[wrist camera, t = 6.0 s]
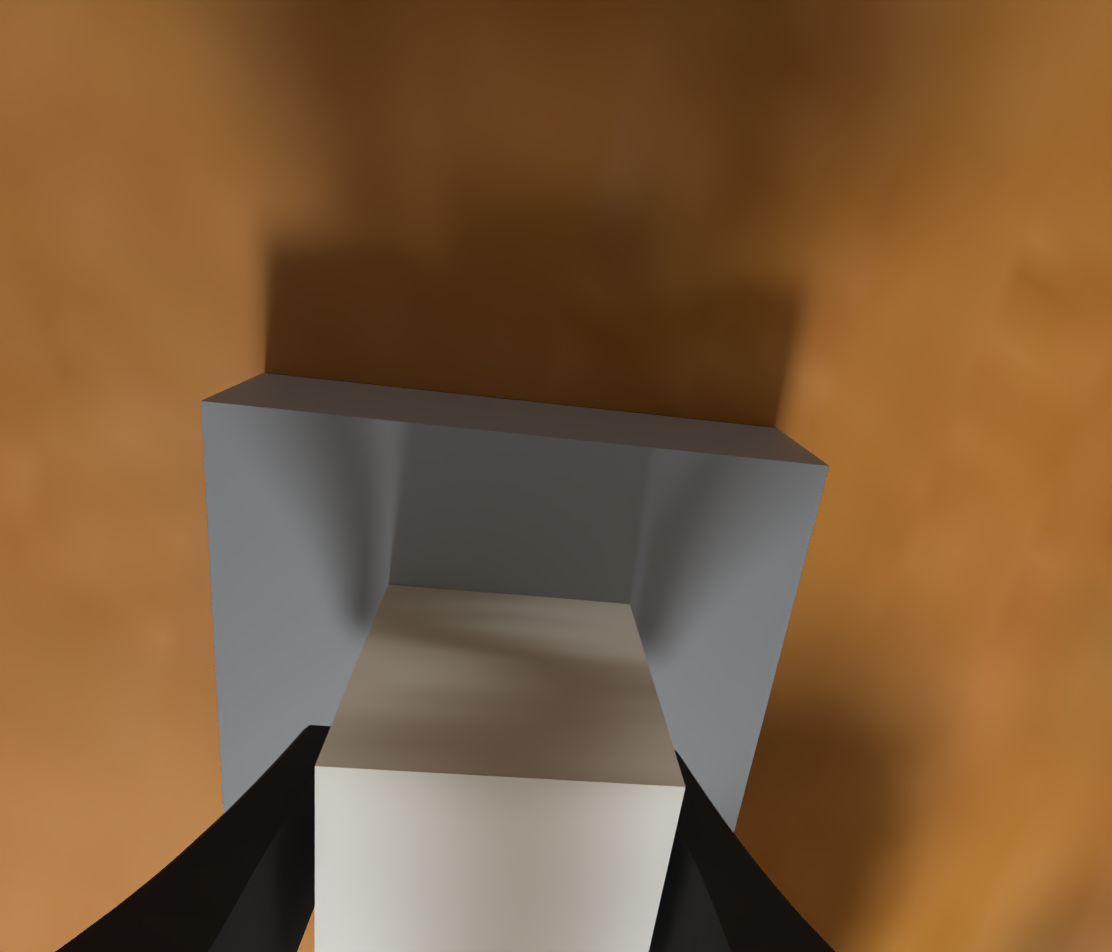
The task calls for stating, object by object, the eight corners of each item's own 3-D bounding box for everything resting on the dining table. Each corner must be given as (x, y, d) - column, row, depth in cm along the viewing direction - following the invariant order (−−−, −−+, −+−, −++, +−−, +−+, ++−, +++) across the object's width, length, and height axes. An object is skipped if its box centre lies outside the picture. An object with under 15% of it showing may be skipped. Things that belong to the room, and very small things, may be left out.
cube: (380, 780, 15) (314, 1024, 10) (388, 584, 13) (315, 766, 9) (597, 792, 15) (630, 1032, 11) (629, 603, 14) (685, 786, 9)
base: (273, 791, 19) (227, 887, 16) (263, 372, 15) (200, 400, 12) (686, 817, 20) (712, 913, 17) (775, 428, 16) (829, 466, 13)
